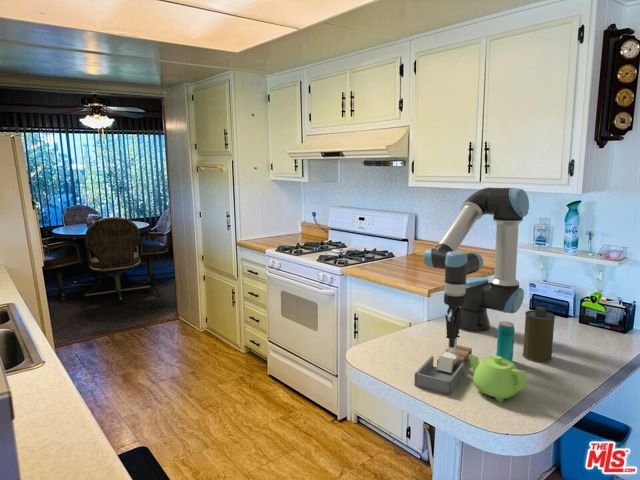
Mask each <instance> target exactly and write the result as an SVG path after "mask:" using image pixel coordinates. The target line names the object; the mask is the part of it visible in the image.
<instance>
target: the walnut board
mask: <svg viewBox="0 0 640 480" xmlns="http://www.w3.org/2000/svg"><path fill="white" fill-rule="evenodd" d="M472 351H473V348H472V347H467V346H463V345H459V344H457V352H456V354H459V360H458V361H457V362H456V363H455V364H454V365H453V371H456V370H457V369H458V367H459V366H460V365H461V363H464V366H465V365H466V363H468V361H469V360H470V359H469V355H470V354H471V355H473V352H472ZM445 352H448V348H446V350H445V351H444V352H443V353H442V354H441V355H440V356H442V355H443V354H444V353H445ZM438 360H439V358H437V360H436V367H437V366H438Z"/></svg>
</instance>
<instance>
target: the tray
mask: <svg viewBox="0 0 640 480" xmlns="http://www.w3.org/2000/svg"><path fill="white" fill-rule="evenodd" d="M434 358H435V357H434V355H431V356H430V357H429V358H428V359H427V360H426V361H425V362H424V363H423V364H422V365H421V366H420V368H418V369H417V370H416V371H415V373H414V386H415V387H419V388H422V389H425V390H430V391H433V392H436V393H441V394H444V395H449V396H450V395H451V393H452V392H453V390H454V389H455V388H456V386H457V385H458V384H459V382H460V381H461V380H462V378H463V376H464V375H465V365H464V363H461V365H460V366H459V367H458V369H457V370H456V371H452V373H448V372H444V371H440V370H437V366H434Z"/></svg>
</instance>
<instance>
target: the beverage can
mask: <svg viewBox="0 0 640 480" xmlns="http://www.w3.org/2000/svg"><path fill="white" fill-rule="evenodd" d="M514 326H515V324H514V323H512V322H510V321H500V322H499V324H498V326H497V340H496V341H497V342H496V356H500V357H502V358H504V359H506V360H509V361H511V362H512V361H513V359H514V343H515V327H514Z"/></svg>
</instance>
